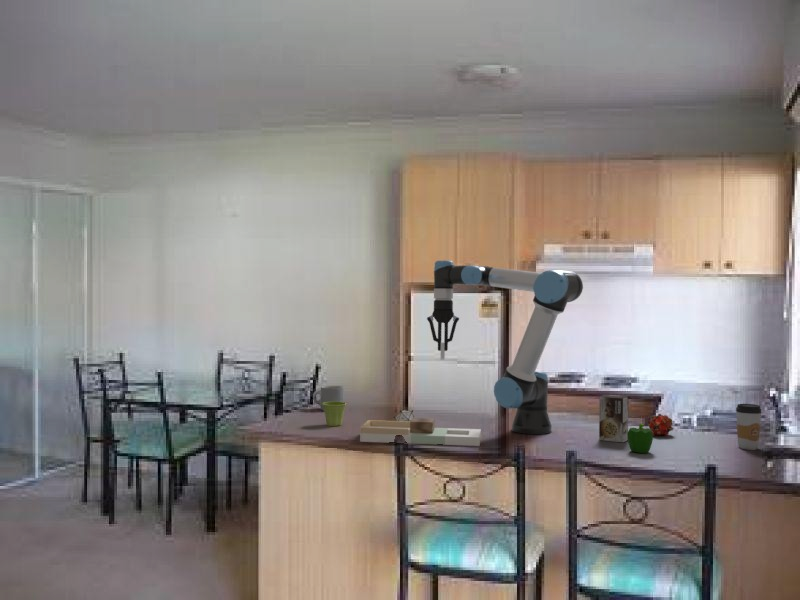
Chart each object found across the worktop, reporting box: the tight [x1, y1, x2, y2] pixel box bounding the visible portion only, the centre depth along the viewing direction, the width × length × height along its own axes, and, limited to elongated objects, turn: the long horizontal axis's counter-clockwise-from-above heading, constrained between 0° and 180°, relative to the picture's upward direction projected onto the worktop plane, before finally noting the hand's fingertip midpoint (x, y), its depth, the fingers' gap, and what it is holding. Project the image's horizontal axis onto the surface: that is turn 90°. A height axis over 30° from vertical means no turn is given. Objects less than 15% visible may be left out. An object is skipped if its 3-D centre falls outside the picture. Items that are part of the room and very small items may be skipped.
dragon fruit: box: [647, 413, 674, 437], centre depth 302 cm, size 8×8×12 cm
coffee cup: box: [735, 403, 763, 451], centre depth 279 cm, size 8×8×15 cm
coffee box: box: [598, 394, 629, 443], centre depth 291 cm, size 9×6×16 cm
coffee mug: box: [312, 385, 344, 412], centre depth 356 cm, size 13×10×10 cm
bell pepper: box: [627, 423, 654, 454], centre depth 270 cm, size 8×8×10 cm
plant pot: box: [322, 401, 347, 427], centre depth 315 cm, size 9×9×9 cm
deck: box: [359, 419, 482, 447], centre depth 288 cm, size 42×16×5 cm, turn 83°
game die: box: [393, 408, 415, 421], centre depth 306 cm, size 9×8×10 cm
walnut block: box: [410, 417, 435, 434], centre depth 288 cm, size 8×8×4 cm
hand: (442, 359), depth 317 cm, fingers closed
